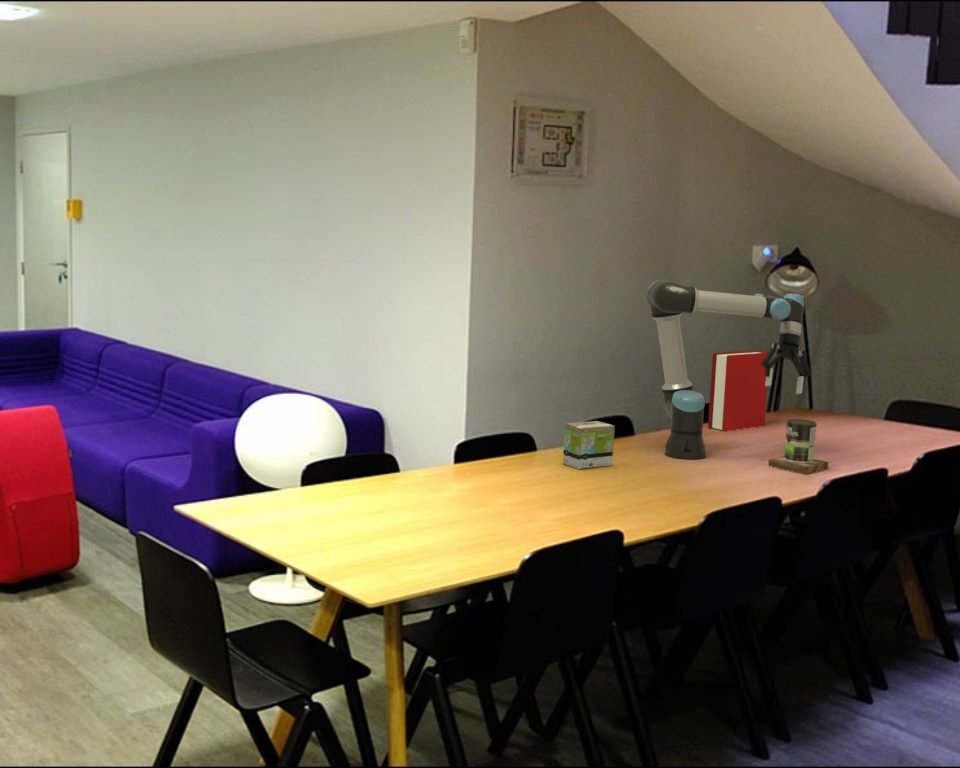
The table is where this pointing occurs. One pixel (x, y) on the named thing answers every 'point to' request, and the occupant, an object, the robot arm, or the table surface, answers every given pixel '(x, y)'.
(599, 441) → the tea box
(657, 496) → the table surface
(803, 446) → the coffee can
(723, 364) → the book
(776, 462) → the walnut board
